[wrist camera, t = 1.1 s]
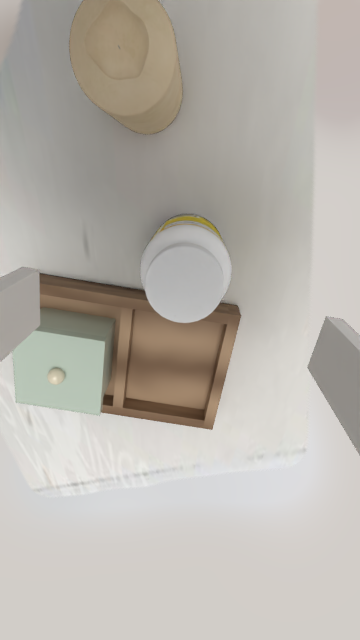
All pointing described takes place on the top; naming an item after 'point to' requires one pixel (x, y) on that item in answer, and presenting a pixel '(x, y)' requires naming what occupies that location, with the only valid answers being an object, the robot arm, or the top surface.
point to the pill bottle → (185, 269)
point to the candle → (128, 61)
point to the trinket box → (65, 362)
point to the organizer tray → (154, 352)
